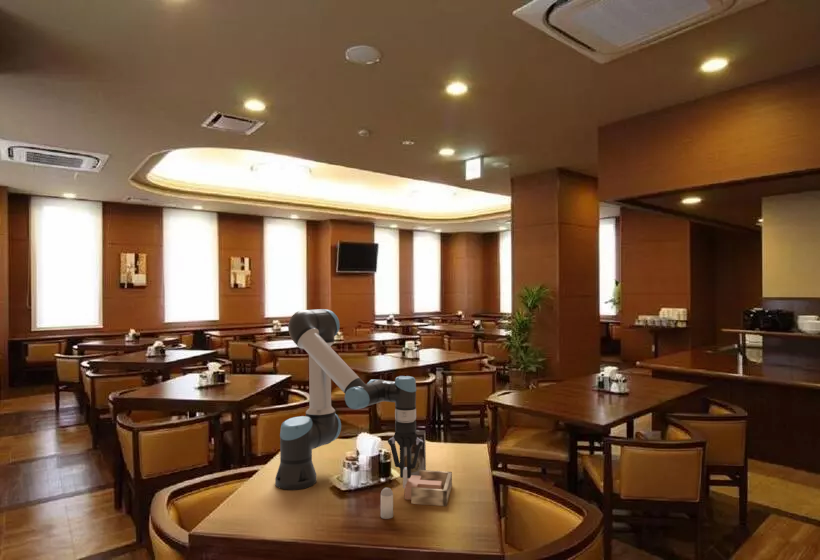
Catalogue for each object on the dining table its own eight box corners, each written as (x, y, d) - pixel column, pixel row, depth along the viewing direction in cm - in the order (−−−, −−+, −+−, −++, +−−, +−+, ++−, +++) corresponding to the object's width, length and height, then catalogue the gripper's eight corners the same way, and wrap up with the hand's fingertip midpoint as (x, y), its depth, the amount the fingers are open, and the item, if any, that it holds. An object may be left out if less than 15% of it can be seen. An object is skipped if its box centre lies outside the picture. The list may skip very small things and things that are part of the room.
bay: (411, 503, 170) (411, 488, 170) (419, 483, 188) (419, 469, 188) (446, 506, 168) (446, 491, 168) (451, 485, 186) (451, 471, 186)
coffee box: (426, 470, 202) (426, 429, 202) (425, 476, 195) (424, 434, 196) (403, 469, 203) (403, 429, 203) (401, 475, 196) (401, 433, 197)
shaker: (379, 518, 159) (379, 489, 159) (382, 512, 162) (382, 485, 163) (391, 519, 158) (391, 490, 158) (394, 513, 162) (394, 486, 162)
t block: (404, 499, 173) (404, 487, 174) (410, 486, 185) (410, 475, 185) (439, 501, 171) (439, 489, 171) (443, 488, 183) (443, 477, 183)
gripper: (385, 422, 178) (385, 489, 177) (421, 423, 175) (422, 492, 175) (390, 417, 185) (390, 481, 184) (425, 418, 183) (425, 484, 182)
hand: (405, 486), depth 179 cm, fingers closed
